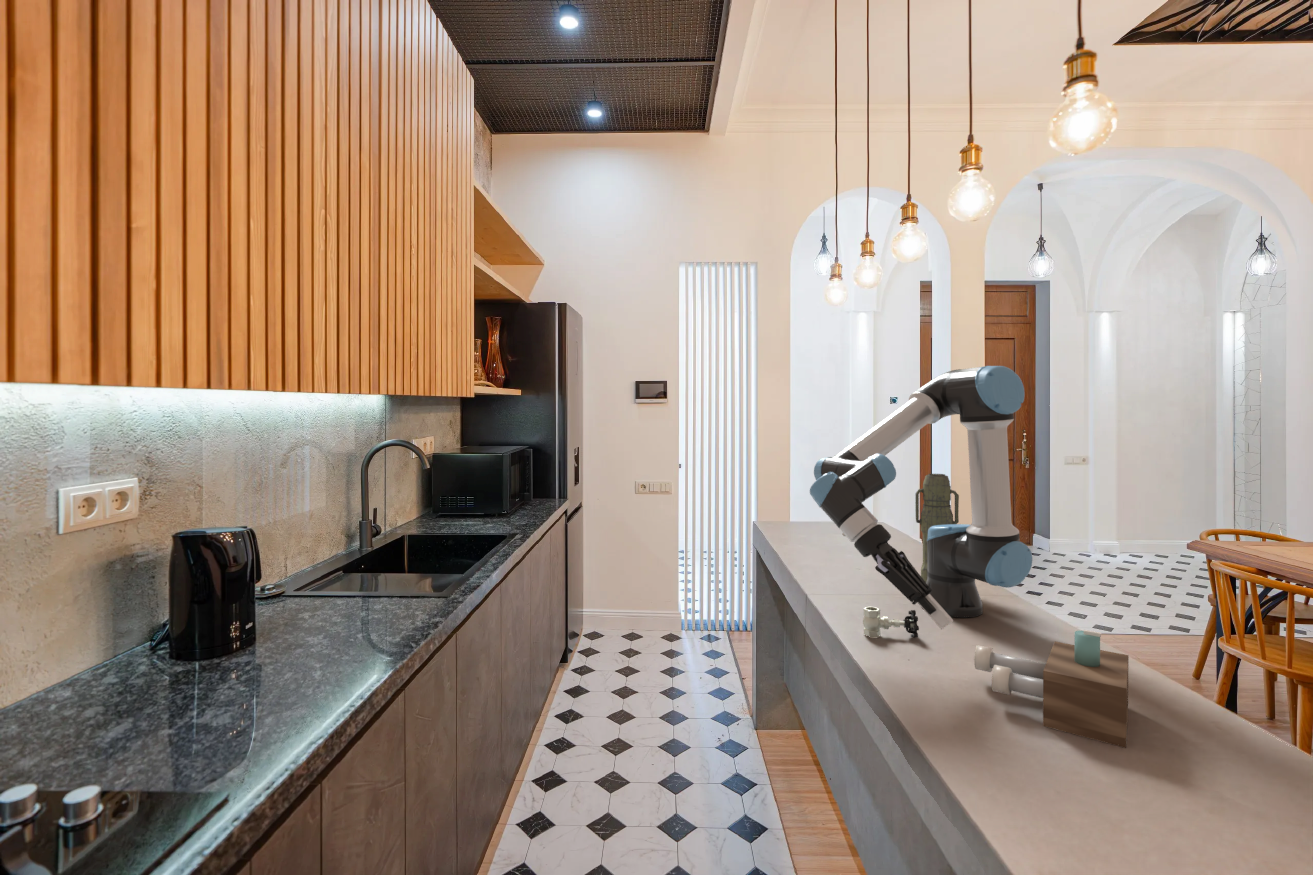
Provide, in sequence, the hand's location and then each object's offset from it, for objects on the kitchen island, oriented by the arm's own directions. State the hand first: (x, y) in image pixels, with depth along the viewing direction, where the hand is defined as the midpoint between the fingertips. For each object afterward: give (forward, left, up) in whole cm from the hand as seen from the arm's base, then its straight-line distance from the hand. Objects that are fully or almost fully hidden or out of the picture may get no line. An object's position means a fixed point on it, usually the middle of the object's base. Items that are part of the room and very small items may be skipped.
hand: (947, 624), depth 120 cm
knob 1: (-1, +12, -8) cm, 14 cm away
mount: (+3, +23, -10) cm, 26 cm away
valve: (-15, -17, -11) cm, 25 cm away
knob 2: (+8, +16, -8) cm, 20 cm away
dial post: (+3, +23, -1) cm, 23 cm away
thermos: (-63, -18, -11) cm, 67 cm away
